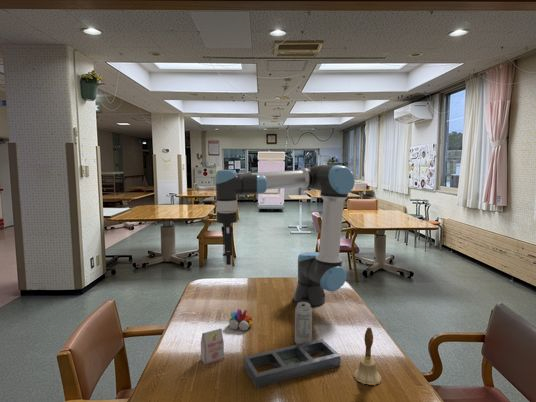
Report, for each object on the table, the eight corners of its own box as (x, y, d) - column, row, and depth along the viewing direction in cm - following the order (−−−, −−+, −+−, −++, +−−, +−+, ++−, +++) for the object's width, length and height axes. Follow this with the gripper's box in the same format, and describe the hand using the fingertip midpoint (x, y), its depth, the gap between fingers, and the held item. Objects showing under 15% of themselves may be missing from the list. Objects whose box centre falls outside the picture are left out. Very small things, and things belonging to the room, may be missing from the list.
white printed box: (201, 359, 116) (200, 331, 115) (219, 353, 119) (219, 326, 118) (204, 364, 113) (204, 336, 112) (223, 358, 116) (223, 330, 115)
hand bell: (349, 370, 110) (351, 322, 108) (375, 368, 111) (377, 321, 109) (358, 386, 102) (360, 336, 100) (385, 385, 103) (388, 334, 101)
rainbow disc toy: (249, 333, 134) (249, 315, 133) (226, 330, 136) (225, 313, 135) (255, 323, 142) (255, 306, 141) (232, 320, 144) (232, 304, 143)
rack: (321, 348, 123) (321, 338, 123) (340, 365, 112) (340, 355, 112) (243, 366, 112) (243, 356, 111) (256, 388, 101) (256, 377, 101)
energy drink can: (312, 341, 128) (313, 302, 126) (309, 349, 122) (310, 309, 120) (297, 338, 130) (297, 300, 128) (292, 346, 124) (293, 306, 122)
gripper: (215, 207, 139) (216, 258, 142) (217, 217, 115) (218, 278, 117) (234, 206, 141) (235, 257, 143) (239, 216, 116) (240, 277, 119)
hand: (227, 267), depth 130 cm, fingers open, 13 cm apart
